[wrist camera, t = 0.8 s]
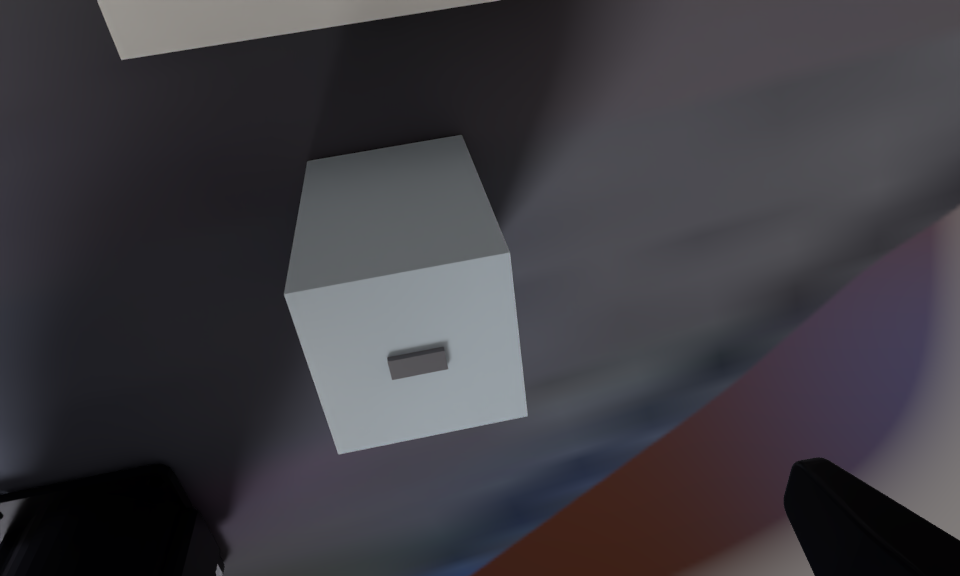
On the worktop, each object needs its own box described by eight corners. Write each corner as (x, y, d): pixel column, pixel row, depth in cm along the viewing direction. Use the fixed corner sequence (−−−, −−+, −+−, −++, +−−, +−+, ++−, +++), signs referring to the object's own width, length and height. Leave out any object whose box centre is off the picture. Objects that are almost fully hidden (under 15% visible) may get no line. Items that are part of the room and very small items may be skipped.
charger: (343, 291, 21) (338, 459, 15) (307, 160, 18) (283, 298, 12) (480, 265, 21) (529, 420, 15) (461, 134, 19) (511, 256, 13)
